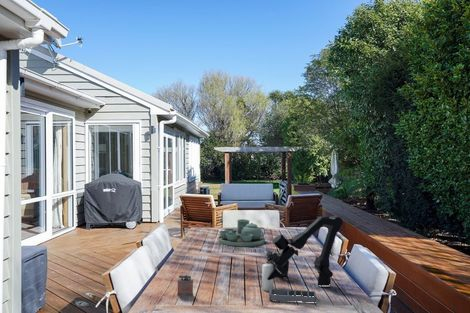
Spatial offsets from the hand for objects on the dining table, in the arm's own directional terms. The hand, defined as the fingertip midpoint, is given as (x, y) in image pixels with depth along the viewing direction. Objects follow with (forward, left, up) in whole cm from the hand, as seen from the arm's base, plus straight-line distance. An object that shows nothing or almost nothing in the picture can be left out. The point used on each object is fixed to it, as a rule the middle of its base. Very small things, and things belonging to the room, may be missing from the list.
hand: (265, 277), depth 209 cm
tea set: (+27, -120, -7) cm, 123 cm away
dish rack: (-14, +12, -7) cm, 20 cm away
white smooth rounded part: (-1, 0, -7) cm, 7 cm away
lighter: (+40, +16, -7) cm, 43 cm away
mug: (-8, -24, -7) cm, 26 cm away
